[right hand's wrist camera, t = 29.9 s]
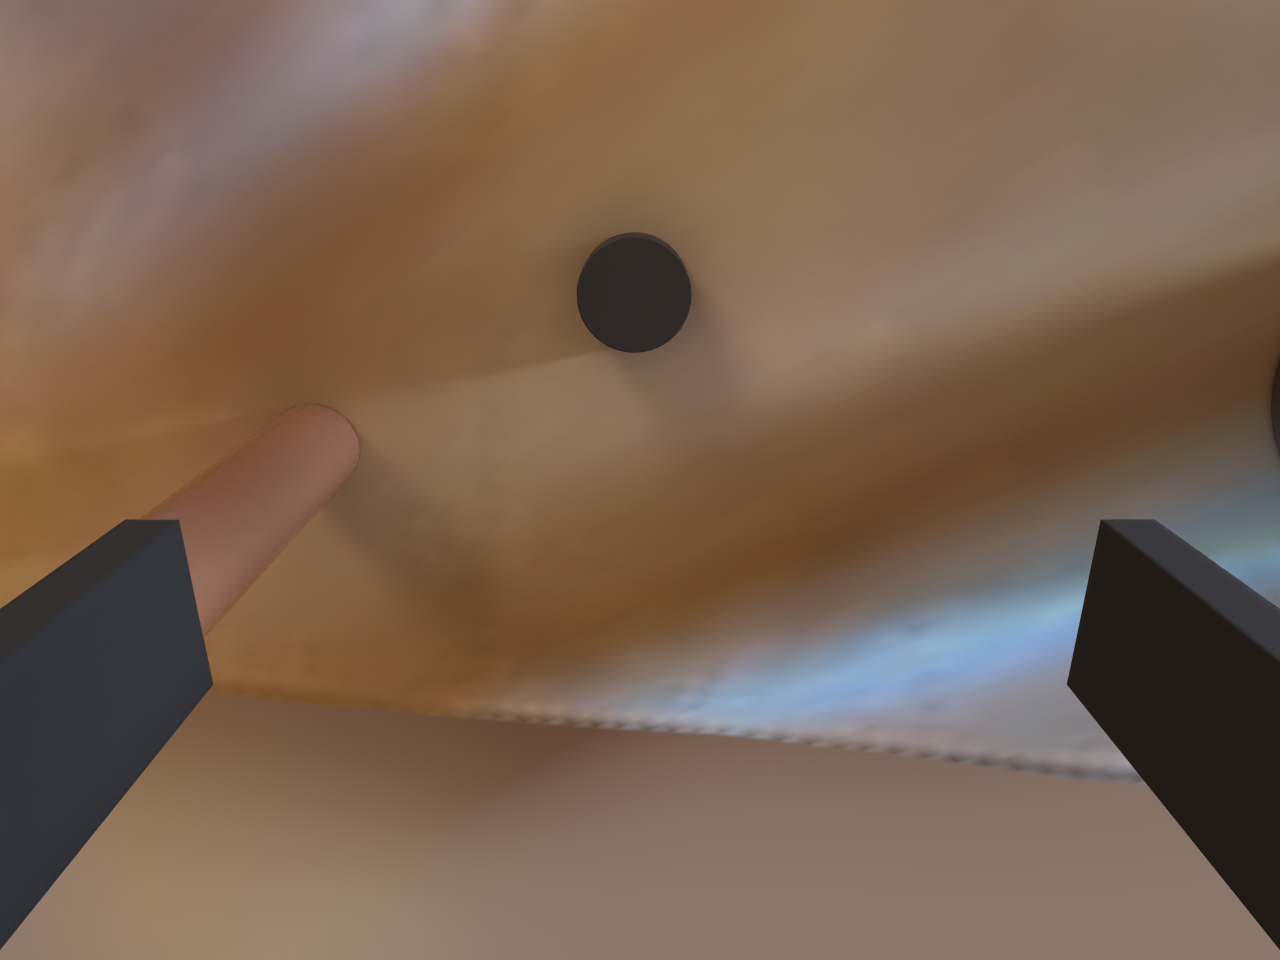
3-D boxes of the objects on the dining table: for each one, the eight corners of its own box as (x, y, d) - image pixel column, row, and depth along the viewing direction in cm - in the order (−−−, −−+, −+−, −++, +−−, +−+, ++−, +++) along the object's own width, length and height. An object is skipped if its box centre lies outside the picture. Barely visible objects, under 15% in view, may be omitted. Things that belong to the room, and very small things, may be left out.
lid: (695, 238, 40) (698, 243, 38) (681, 347, 41) (683, 358, 39) (584, 226, 39) (581, 230, 37) (575, 336, 41) (572, 346, 39)
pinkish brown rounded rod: (255, 452, 43) (-21, 669, 25) (300, 386, 42) (43, 562, 24) (331, 502, 44) (117, 745, 26) (376, 438, 43) (185, 646, 25)
